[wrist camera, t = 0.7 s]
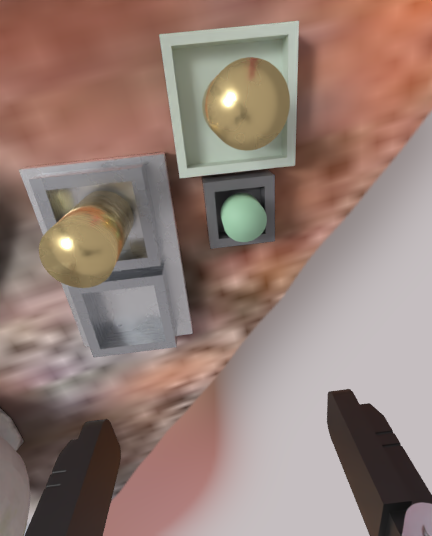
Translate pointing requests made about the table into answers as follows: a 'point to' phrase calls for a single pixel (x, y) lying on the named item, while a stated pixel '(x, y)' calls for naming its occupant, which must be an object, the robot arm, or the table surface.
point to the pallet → (122, 252)
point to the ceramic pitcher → (12, 481)
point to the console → (232, 183)
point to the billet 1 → (87, 240)
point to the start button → (243, 217)
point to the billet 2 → (247, 103)
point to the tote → (199, 77)
